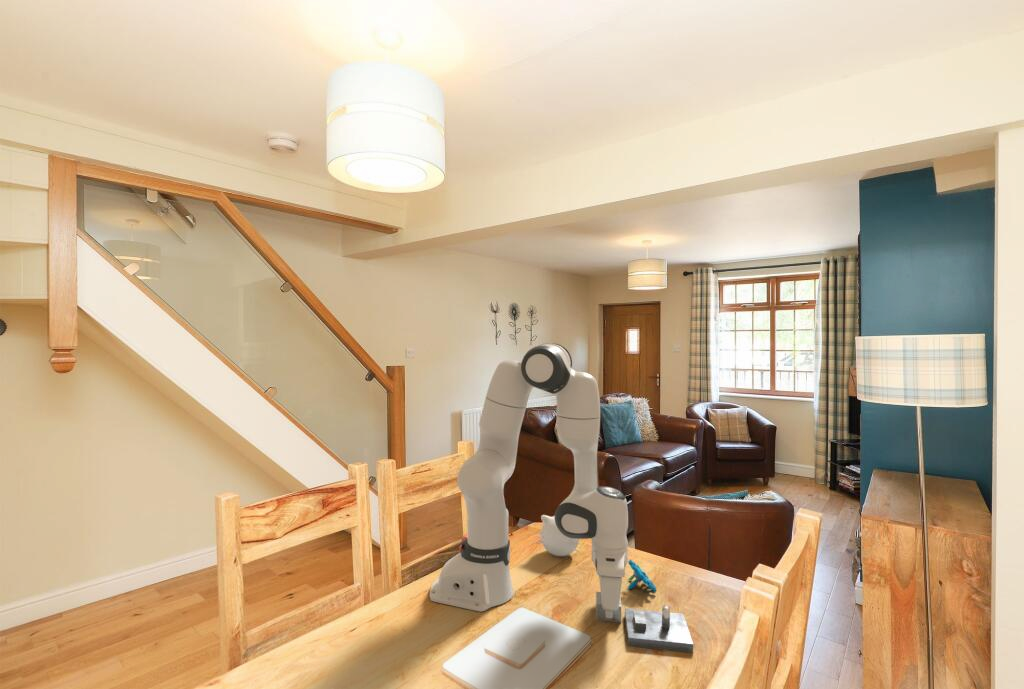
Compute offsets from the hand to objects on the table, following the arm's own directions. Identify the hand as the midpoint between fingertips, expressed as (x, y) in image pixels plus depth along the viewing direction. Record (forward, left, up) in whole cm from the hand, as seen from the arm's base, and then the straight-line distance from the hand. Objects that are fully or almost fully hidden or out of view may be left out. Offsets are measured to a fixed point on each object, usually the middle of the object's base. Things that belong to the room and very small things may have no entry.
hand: (608, 608), depth 126 cm
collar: (0, 0, -2) cm, 2 cm away
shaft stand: (+11, -6, -2) cm, 13 cm away
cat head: (-14, +32, -2) cm, 35 cm away
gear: (+10, +15, -2) cm, 18 cm away
